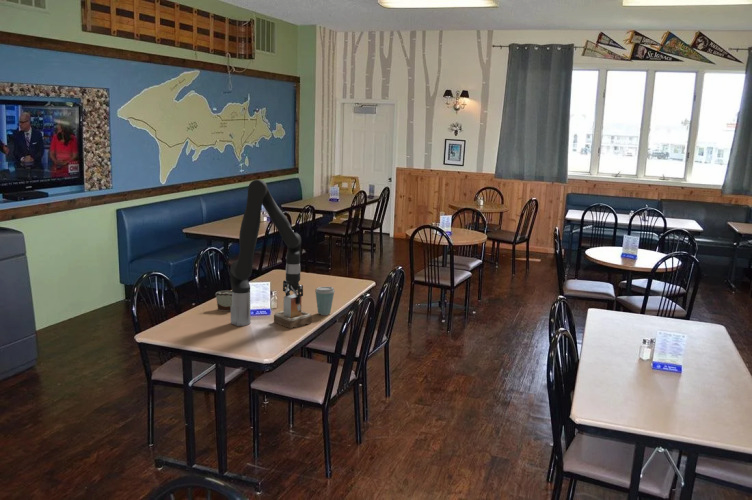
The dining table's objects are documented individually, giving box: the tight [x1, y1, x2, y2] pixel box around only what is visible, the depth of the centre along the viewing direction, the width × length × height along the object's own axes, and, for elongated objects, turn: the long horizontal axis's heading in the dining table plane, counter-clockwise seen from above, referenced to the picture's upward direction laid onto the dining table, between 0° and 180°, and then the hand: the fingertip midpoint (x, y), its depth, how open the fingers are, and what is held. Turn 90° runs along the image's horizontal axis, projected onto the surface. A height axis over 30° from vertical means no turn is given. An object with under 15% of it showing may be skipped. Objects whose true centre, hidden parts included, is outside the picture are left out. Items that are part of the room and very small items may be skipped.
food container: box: [214, 290, 232, 312], centre depth 358 cm, size 12×6×10 cm, turn 84°
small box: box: [282, 293, 303, 318], centre depth 337 cm, size 8×6×10 cm
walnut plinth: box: [273, 310, 313, 329], centre depth 338 cm, size 14×14×5 cm
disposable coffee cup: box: [315, 286, 335, 316], centre depth 354 cm, size 11×11×15 cm
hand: (292, 302), depth 336 cm, fingers open, 8 cm apart
